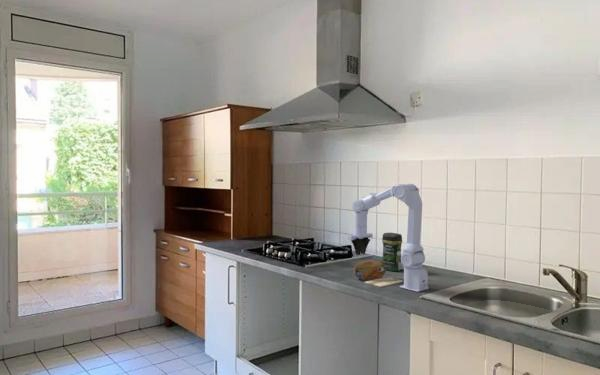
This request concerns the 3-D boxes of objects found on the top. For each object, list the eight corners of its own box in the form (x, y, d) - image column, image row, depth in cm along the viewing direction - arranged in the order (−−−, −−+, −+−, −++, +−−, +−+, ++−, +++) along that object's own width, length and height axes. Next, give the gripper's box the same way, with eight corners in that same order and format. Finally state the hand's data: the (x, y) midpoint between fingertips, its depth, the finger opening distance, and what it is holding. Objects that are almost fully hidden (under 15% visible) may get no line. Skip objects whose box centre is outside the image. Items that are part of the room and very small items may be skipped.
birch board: (403, 281, 194) (403, 280, 194) (381, 287, 185) (381, 286, 185) (386, 277, 202) (386, 276, 202) (364, 282, 192) (364, 281, 192)
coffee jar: (379, 269, 219) (379, 232, 219) (388, 266, 225) (388, 231, 224) (395, 272, 212) (395, 234, 212) (404, 270, 218) (404, 233, 217)
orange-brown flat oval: (355, 280, 196) (355, 262, 196) (352, 279, 199) (353, 260, 199) (385, 278, 200) (385, 260, 200) (382, 276, 203) (382, 259, 203)
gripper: (364, 223, 211) (364, 251, 211) (343, 225, 202) (343, 254, 202) (376, 224, 206) (375, 253, 206) (354, 227, 196) (354, 256, 197)
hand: (360, 254), depth 204 cm, fingers open, 3 cm apart
